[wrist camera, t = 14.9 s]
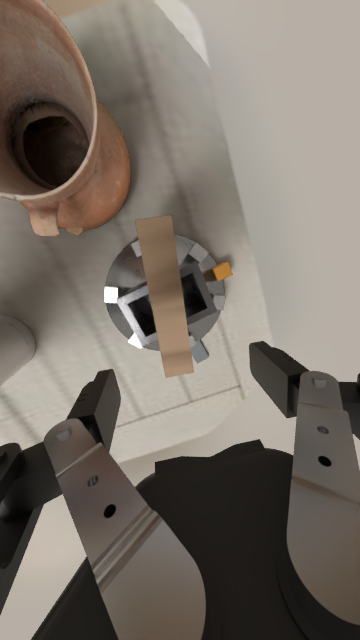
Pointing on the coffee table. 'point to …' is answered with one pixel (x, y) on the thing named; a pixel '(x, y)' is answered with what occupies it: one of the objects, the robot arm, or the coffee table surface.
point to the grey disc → (134, 300)
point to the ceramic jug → (55, 127)
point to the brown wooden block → (165, 292)
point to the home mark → (199, 352)
